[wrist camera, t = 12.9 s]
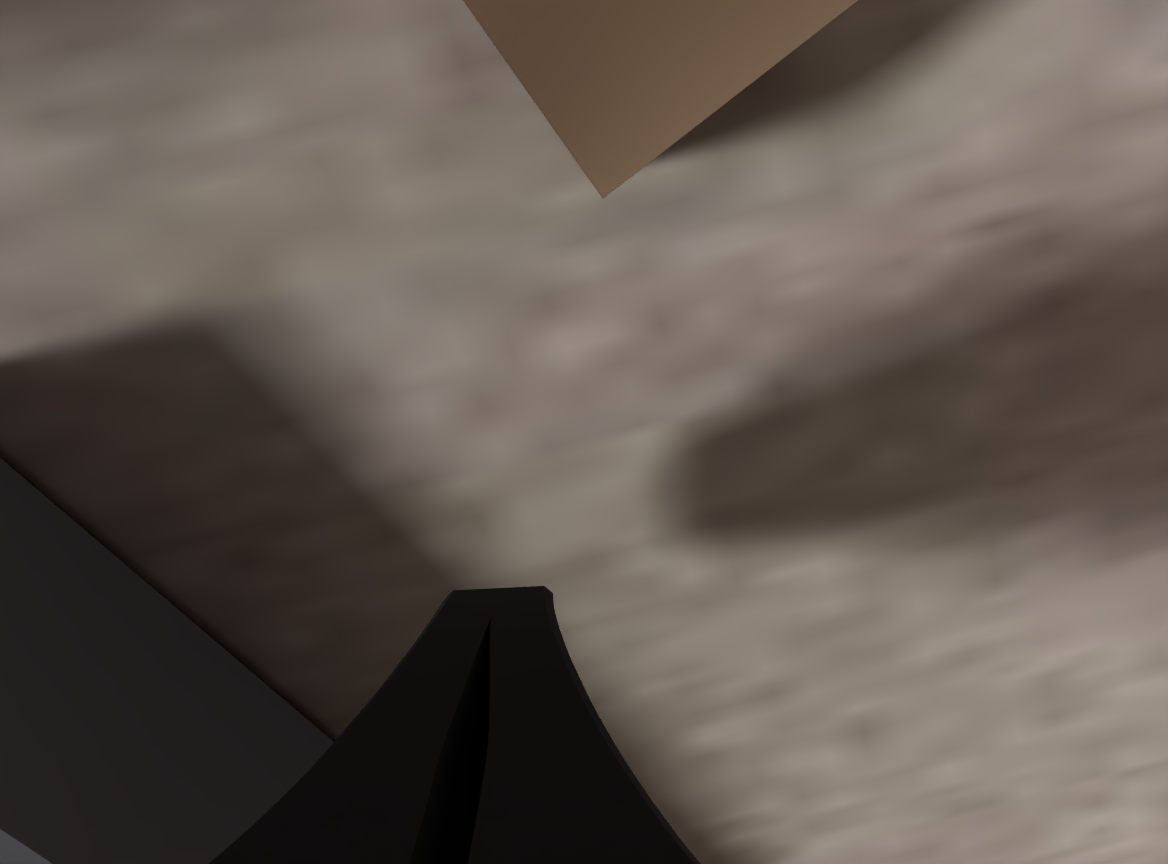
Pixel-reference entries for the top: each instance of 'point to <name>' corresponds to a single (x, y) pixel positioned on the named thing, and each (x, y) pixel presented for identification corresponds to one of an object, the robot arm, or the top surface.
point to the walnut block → (641, 66)
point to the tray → (122, 709)
